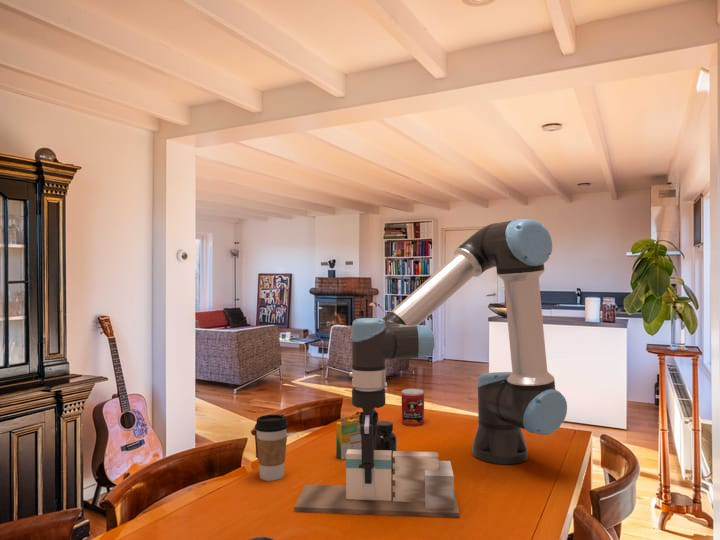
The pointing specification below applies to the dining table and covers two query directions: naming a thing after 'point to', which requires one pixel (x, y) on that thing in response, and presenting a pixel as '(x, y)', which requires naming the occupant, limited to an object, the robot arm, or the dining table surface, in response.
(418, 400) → the canned food
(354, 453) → the blue-striped white box
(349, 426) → the crayon box
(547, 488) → the dining table surface
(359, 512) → the stepped block stand
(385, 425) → the supplement bottle
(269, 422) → the coffee cup
